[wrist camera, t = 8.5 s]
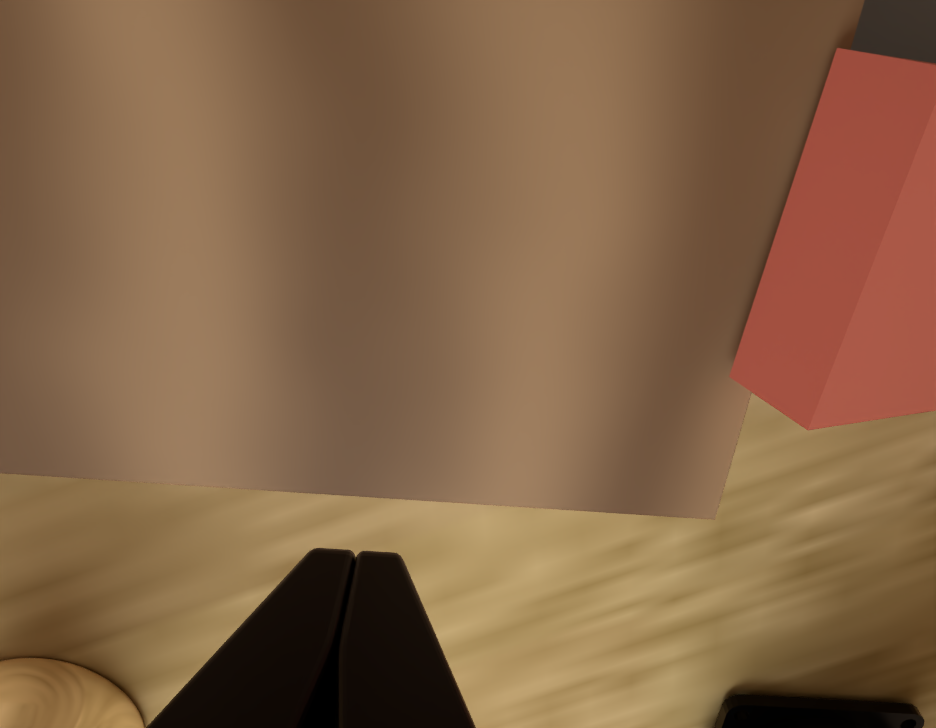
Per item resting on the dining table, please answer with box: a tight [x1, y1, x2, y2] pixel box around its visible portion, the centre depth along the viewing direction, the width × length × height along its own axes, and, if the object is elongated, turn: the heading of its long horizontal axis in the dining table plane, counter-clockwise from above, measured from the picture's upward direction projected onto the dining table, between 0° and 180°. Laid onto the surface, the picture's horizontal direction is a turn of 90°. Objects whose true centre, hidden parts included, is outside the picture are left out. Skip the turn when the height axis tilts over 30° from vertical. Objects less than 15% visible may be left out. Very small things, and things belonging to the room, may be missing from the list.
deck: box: [0, 0, 865, 520], centre depth 15 cm, size 16×14×4 cm
